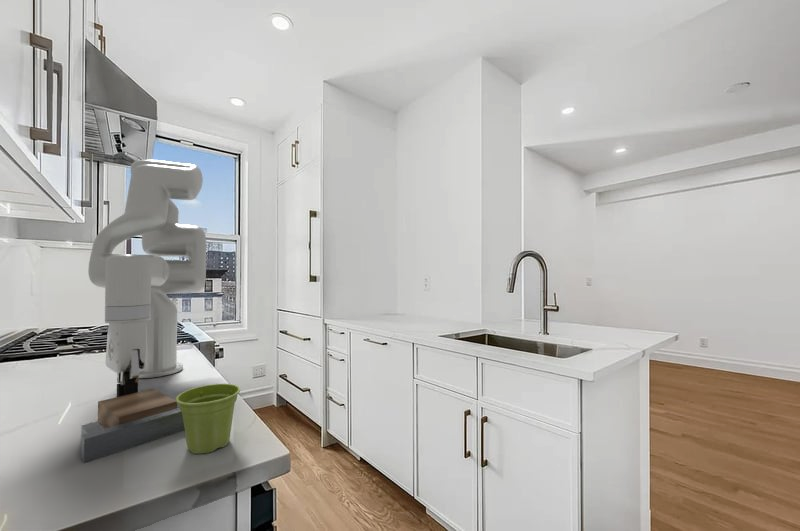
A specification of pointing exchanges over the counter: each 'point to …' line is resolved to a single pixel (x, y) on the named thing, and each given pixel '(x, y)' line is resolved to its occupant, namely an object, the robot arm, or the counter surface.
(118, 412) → the walnut slab
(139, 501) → the counter surface
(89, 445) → the stop bracket
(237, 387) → the plant pot
